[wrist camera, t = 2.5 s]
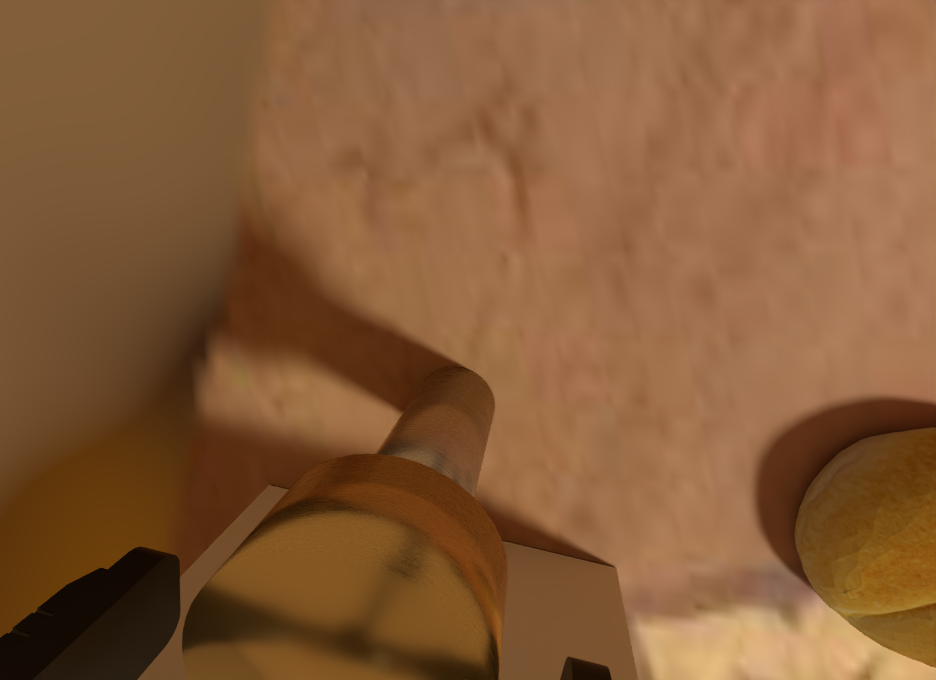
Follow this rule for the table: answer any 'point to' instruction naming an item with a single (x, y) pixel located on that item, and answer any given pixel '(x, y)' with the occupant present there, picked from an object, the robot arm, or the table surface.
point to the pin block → (526, 614)
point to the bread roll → (877, 539)
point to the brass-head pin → (369, 562)
